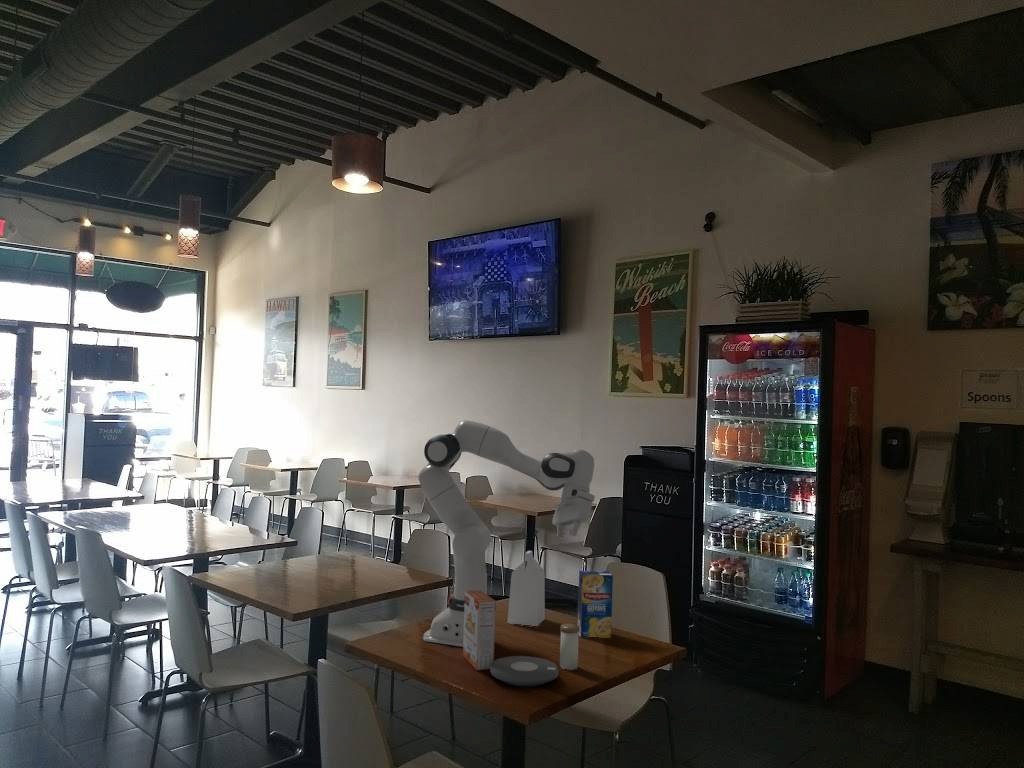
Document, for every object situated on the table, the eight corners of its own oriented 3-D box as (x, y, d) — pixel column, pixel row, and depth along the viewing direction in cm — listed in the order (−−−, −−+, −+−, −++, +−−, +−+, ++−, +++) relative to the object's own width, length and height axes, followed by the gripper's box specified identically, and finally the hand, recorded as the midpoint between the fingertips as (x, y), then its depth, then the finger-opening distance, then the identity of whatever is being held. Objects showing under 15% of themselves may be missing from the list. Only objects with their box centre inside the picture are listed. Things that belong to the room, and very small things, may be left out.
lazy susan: (484, 680, 214) (484, 674, 214) (496, 658, 234) (496, 653, 234) (554, 687, 211) (554, 680, 211) (561, 664, 231) (561, 658, 231)
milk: (515, 616, 293) (518, 548, 294) (544, 619, 290) (546, 550, 291) (507, 623, 282) (509, 553, 283) (537, 627, 279) (539, 555, 280)
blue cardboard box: (611, 637, 268) (613, 575, 269) (580, 637, 267) (582, 574, 268) (606, 632, 275) (608, 571, 276) (577, 632, 274) (579, 570, 275)
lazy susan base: (496, 684, 217) (496, 679, 217) (504, 668, 230) (504, 663, 230) (544, 688, 214) (545, 683, 214) (550, 672, 228) (550, 667, 228)
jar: (558, 669, 232) (559, 628, 233) (560, 663, 238) (561, 623, 238) (577, 670, 231) (578, 629, 232) (578, 665, 237) (579, 624, 237)
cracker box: (461, 657, 240) (464, 590, 241) (479, 655, 242) (481, 589, 243) (475, 671, 227) (477, 600, 228) (494, 669, 229) (496, 599, 230)
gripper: (553, 497, 264) (544, 536, 259) (581, 489, 246) (572, 530, 241) (568, 503, 266) (560, 542, 261) (597, 495, 248) (589, 536, 243)
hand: (566, 536), depth 250 cm, fingers open, 8 cm apart
